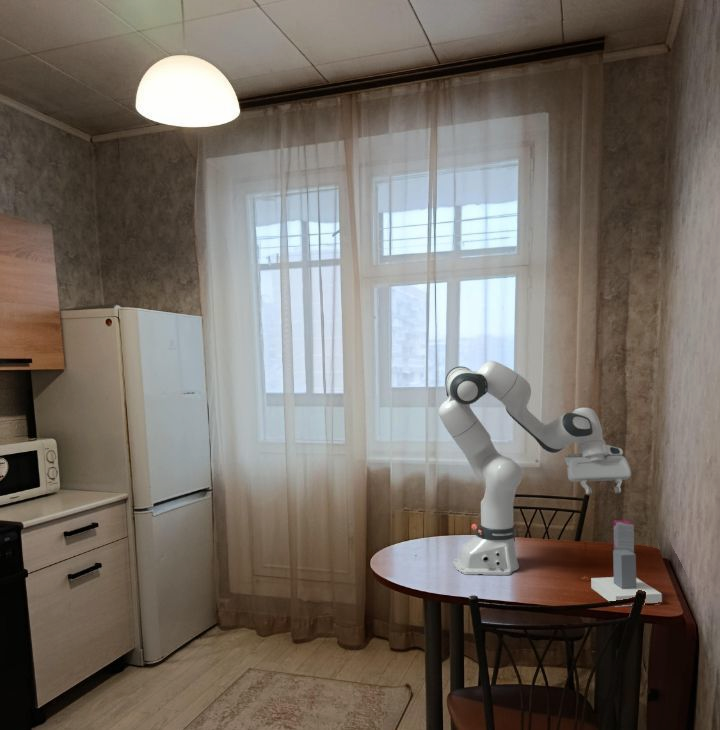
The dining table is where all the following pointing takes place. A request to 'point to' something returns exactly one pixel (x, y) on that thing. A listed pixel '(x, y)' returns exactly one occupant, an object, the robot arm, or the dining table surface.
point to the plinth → (623, 590)
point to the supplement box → (623, 535)
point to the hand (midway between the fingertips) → (603, 493)
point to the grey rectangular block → (624, 569)
